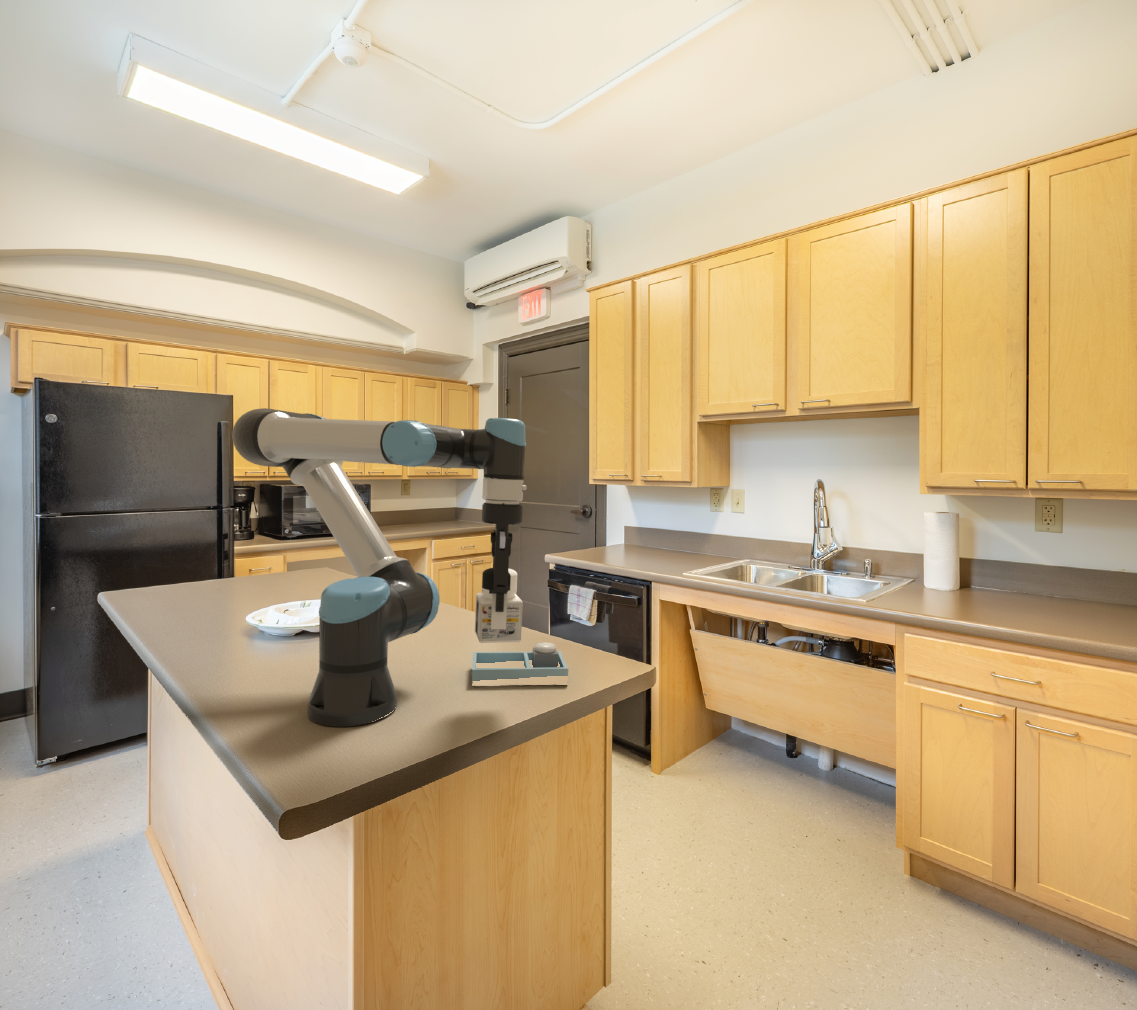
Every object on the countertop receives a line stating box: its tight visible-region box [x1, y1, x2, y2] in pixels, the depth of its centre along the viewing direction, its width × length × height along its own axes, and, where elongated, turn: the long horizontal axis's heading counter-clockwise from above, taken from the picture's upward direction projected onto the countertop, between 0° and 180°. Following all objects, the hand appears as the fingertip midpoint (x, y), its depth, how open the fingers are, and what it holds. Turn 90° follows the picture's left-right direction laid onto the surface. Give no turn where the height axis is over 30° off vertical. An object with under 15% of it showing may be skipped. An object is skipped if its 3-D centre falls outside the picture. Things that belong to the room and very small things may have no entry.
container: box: [474, 567, 524, 644], centre depth 112 cm, size 8×8×13 cm
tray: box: [471, 641, 569, 682], centre depth 129 cm, size 20×12×7 cm, turn 98°
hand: (497, 622), depth 112 cm, fingers closed on container, 8 cm apart
